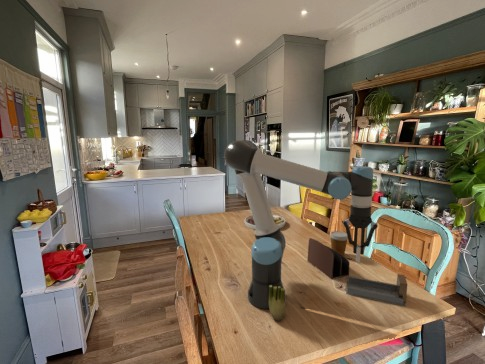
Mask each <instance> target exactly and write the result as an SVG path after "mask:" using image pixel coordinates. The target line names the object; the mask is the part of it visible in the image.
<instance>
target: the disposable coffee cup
mask: <svg viewBox="0 0 485 364" xmlns="http://www.w3.org/2000/svg"><path fill="white" fill-rule="evenodd" d="M329 238H330V243H331V247H330V248H332V249H333V250H335V251H337V252H338V253H340V254H341V255H342V256H344V257H345V255H346V248H347V243H348V236H347V232H344V231H338V230H334V231H333V230H332V231H331V232H330V234H329Z"/></svg>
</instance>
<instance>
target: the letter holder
mask: <svg viewBox="0 0 485 364" xmlns="http://www.w3.org/2000/svg"><path fill="white" fill-rule="evenodd" d="M307 263H309V264H310V265H312V267H314V268H316V269H317V270H319V271H320V272H322V273H323V274H324V275H325V276H327V278H329V279H330V280H335V279H340V278H344V277H349V276H350V261H349V260H348V258H346V257H345V255H344V256H342V255H341V254H340V253H338V252H337V251H335V250H333V249H332V247H329V246H327V245H325V244H323V243H322V242H320V241H318V240H317V239H314V238H311V237H310V238H308V247H307Z"/></svg>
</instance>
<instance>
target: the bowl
mask: <svg viewBox="0 0 485 364" xmlns="http://www.w3.org/2000/svg"><path fill="white" fill-rule="evenodd" d="M272 216H273V219H274V222H275V224H277V225H279V227H280V229H282V228H283V227H284V226H285V225H286V219H285V217H283V216H282V215H281V216H280V215H278V214H273V213H272ZM244 224H245V226H246V227H247V228H248V229H251V230H254V231H255V230H256V226H255V223H254V220H253V216H252V214H251V215H248V216H246V217H245V218H244Z"/></svg>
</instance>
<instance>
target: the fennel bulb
mask: <svg viewBox="0 0 485 364" xmlns="http://www.w3.org/2000/svg"><path fill="white" fill-rule="evenodd" d="M284 294H285V295H286V289H285V288H282V289H281V287H280V286H278V296H277V287H273V286H272V285H270V286H269V309H268V310H269V313H270V315H271V317H272V319H273V320H275V321H281V320H283V319H284V318H285V317H286V312H287V311H286V301H285V302H284Z"/></svg>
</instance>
